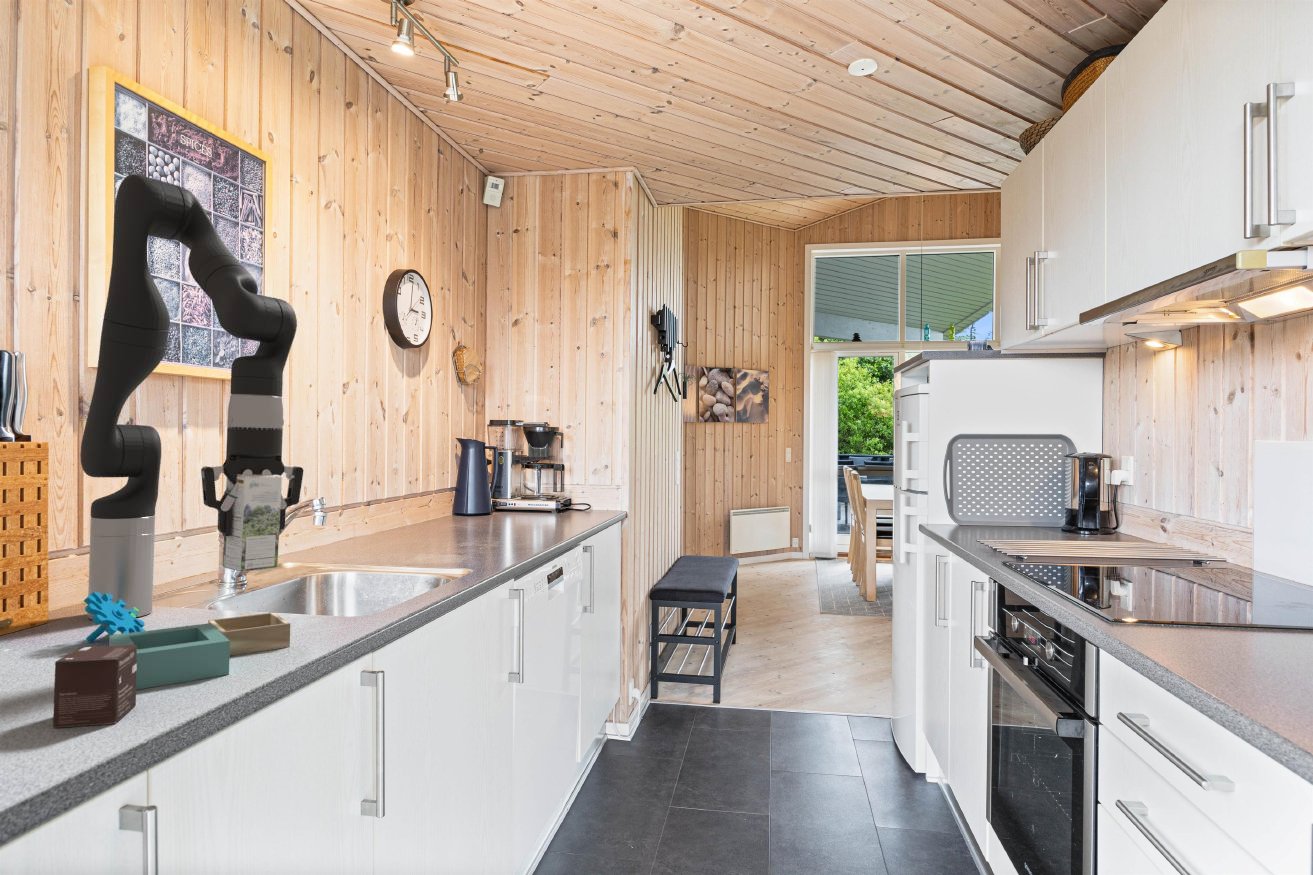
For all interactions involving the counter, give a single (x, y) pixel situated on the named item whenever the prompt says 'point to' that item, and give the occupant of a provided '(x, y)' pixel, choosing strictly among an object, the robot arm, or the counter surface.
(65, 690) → the box
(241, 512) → the syrup box
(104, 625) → the gear
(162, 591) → the counter surface
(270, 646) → the stand collar
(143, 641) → the teal square frame
